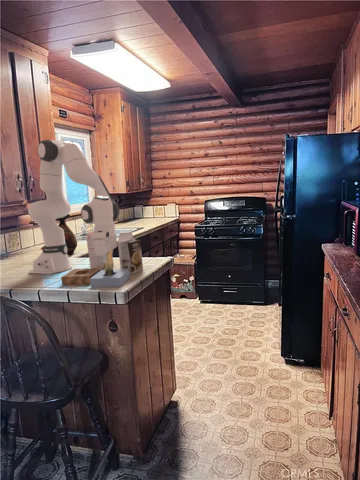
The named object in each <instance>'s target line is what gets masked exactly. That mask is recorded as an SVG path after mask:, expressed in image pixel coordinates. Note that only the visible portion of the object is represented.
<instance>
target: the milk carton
mask: <svg viewBox="0 0 360 480" xmlns="http://www.w3.org/2000/svg"><path fill="white" fill-rule="evenodd" d="M118 234H119V236H118V239H117V247H118V258H119V266H120V267H119V268H120V270H123V267H122V256H121V245H120V243H121V242H125V241H128V240H136V239H135V237H134V235H133V232H119V233H118Z"/></svg>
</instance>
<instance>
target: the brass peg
mask: <svg viewBox="0 0 360 480" xmlns="http://www.w3.org/2000/svg"><path fill="white" fill-rule="evenodd" d="M112 256H113V253H112V251H111V249H110V252H108V253H107V258H108V262H107V263H104V269H105V275H112V274H114V270H115V269H114V266H113V265H114V260H113V261H112Z"/></svg>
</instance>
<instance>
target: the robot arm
mask: <svg viewBox="0 0 360 480" xmlns="http://www.w3.org/2000/svg"><path fill="white" fill-rule="evenodd" d="M37 155H38V156H39V158H40V159H41V160H40V167H39V188H40V190H41V191H42V192H44V193H45V197H46V199H43V200H38V201H35V202H31V204H29V206H28V211H27V213H28V216H29V218H30V219H31V220H32V221H34V222H35V223H36V224H37V225H38V226H39V229H40V231H41V234H42V238H43V244H44V245H43V246H41V247H40V248H39V249H40V251H41V253H40V254H39V255H38V256H37V257H36V258H35V259H34V261H33V263H32V268H31V269H30V270H29V271H28V272H29V274H42V275H44V274H45V275H52V274H55V273H60V272H65V271H68V270H70V269H72V265H71V263H70V260H69V255H67V245H66V243H65V236H64V230H63V229H62V228H61V227H59V224H58V223H57V219H58V218H62V217H64V216H66V215H68V214H69V215H70V213H71V209H72V208H71V204H70V202H69V201H68V200H67V199H66V197H65V196H64V190H63V167H64V169H65V173H66V174H67V176H68V178H69V180H71V181H72V182H74V183H77V184H80V185H84V186H87V187H89V188H92V189H93V190H94V191H95V192H96V195H95V196H94V197H93V198H92V200H91V201H90V202H88V203H85V204H84V205H83V206H82V207H81V209H80V215H81V216H80V217H81V219H82V221H83V222H84V223H86V224H88V225H93V224H94V230H93V233H92V232H91V233H92V239H94V240H93V246H94V252H95V255H96V256H102V258H103V262H104V263H107V262H108V258H107V253H108V252H110V249H111V251H112V254H113V253H114V249H116V248H117V247H118V239H117V234H116V230H115V228H116V227H115V222H116V221H117V219H118V218H119V216H120V213H121V212H120V211H121V210H120V207H119V206H118V204H117V202H116V201H115V200H114V199H113V197H112V195H111V193H110V191H109V190H108V188H107V186H106V184H105V182H104V181H103V179H102V177H101V176H100V174H98V172H96V171H94V170H93V169H92V167H91V166H90V164H89V163H88V161H87V158H86V156H85V153H84V151H83V150H82V147H81V145H80V144H79V143H77V142H74V141H67V140H61V139H60V140H58V139H52V140H51V139H44V140H41V141H40V142H39V143H38V146H37Z"/></svg>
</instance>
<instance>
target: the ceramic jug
mask: <svg viewBox="0 0 360 480" xmlns="http://www.w3.org/2000/svg"><path fill="white" fill-rule="evenodd" d="M70 217H71V215H70V213H69V214H68V215H66V216H64V217H62V218H58V219H56V221H59V223H58V226H59V227H61V228H62V229H63V230H64V236H65V243H66V245H67V255H68V256H72V255H75V251H76V249H77V246H78V240H77V238H76V235H75V233H74V231H72V229H71V228H70V226H68V225H67V223H66V220H68V219H70Z"/></svg>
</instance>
